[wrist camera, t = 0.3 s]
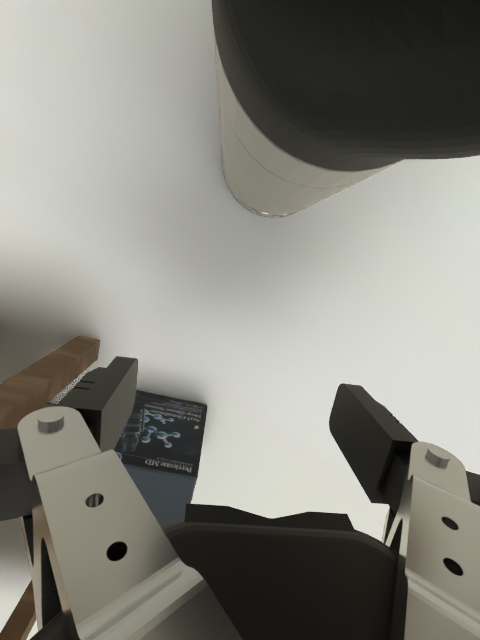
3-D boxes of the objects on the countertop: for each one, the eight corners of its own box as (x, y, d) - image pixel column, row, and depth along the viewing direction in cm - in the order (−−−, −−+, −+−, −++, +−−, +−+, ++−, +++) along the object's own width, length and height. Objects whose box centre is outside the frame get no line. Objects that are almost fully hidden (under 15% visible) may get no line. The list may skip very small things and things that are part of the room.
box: (208, 403, 31) (198, 479, 21) (196, 448, 33) (182, 541, 23) (133, 387, 31) (86, 459, 20) (124, 434, 32) (76, 524, 22)
